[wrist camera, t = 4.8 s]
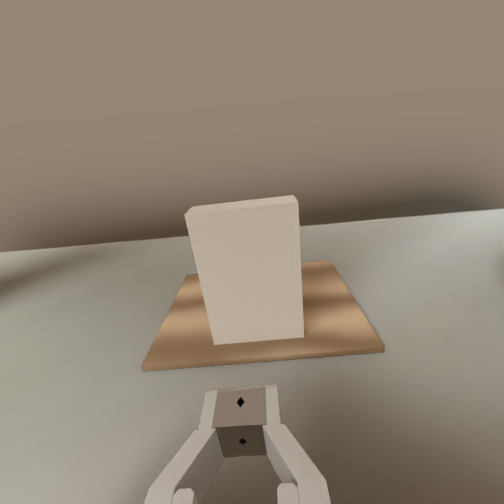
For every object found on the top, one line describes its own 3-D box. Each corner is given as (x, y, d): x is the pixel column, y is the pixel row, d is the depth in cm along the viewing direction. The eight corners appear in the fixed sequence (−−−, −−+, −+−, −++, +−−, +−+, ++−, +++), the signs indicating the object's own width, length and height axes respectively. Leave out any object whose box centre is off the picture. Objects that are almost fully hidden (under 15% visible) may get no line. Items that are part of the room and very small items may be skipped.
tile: (304, 337, 22) (298, 202, 18) (214, 345, 23) (184, 214, 18) (299, 319, 25) (293, 194, 20) (217, 326, 25) (192, 206, 20)
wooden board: (383, 351, 21) (384, 347, 20) (142, 371, 22) (141, 366, 21) (329, 263, 35) (329, 260, 35) (187, 277, 36) (187, 274, 36)
